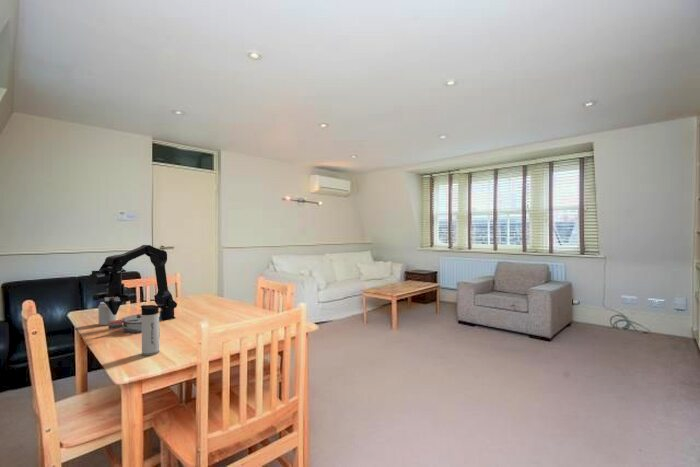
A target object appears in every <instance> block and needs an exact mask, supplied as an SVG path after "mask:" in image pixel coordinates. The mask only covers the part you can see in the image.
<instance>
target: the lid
mask: <svg viewBox="0 0 700 467" xmlns="http://www.w3.org/2000/svg"><path fill="white" fill-rule="evenodd" d="M141 314H142V313H138V314H137V313H136V314H131V315H128V316H125V317H122V319H121V318H120V319H118V320H117V319H116V320H115V321H109V322H108V325H107V326H110V325H115V324H121V323H122V324H123V323H141V322H142V319H141V316H142V315H141Z"/></svg>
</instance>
